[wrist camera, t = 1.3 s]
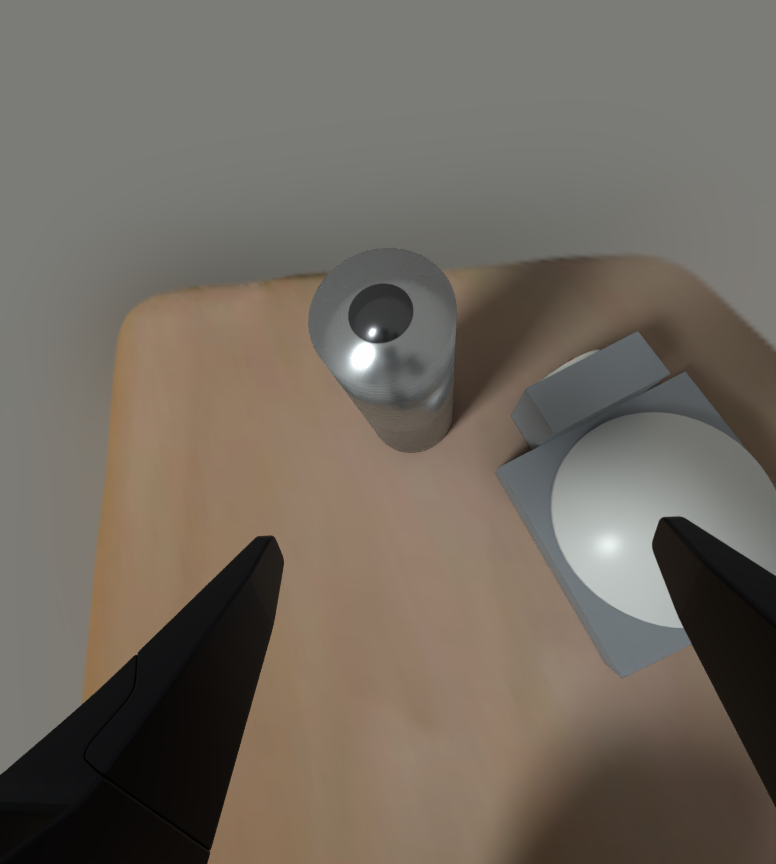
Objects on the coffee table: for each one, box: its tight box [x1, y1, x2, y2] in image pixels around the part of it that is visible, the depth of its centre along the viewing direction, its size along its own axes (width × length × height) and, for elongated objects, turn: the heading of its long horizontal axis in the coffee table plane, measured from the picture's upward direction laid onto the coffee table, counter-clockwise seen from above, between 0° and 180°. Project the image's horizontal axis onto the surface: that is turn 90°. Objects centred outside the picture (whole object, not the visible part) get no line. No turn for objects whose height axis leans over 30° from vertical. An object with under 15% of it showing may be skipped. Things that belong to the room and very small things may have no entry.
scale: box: [495, 331, 776, 678], centre depth 20 cm, size 11×14×5 cm
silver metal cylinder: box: [308, 248, 456, 453], centre depth 19 cm, size 5×5×12 cm
